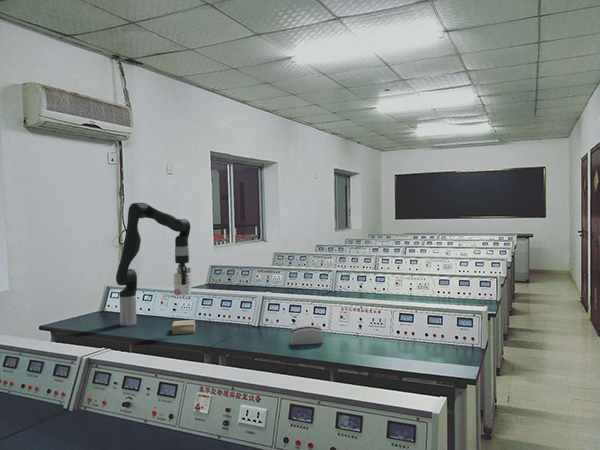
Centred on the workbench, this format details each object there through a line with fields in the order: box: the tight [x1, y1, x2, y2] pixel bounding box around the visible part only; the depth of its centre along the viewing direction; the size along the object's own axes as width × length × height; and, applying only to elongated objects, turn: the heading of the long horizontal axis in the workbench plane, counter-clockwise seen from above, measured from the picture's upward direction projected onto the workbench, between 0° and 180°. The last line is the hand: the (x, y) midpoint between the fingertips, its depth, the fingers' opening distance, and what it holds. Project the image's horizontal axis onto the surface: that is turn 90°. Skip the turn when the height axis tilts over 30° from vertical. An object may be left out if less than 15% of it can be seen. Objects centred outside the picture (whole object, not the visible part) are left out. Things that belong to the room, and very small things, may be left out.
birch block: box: [171, 319, 196, 335], centre depth 274 cm, size 12×12×5 cm
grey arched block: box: [289, 325, 324, 346], centre depth 242 cm, size 17×5×10 cm, turn 97°
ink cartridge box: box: [173, 267, 192, 296], centre depth 273 cm, size 9×5×15 cm, turn 85°
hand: (182, 283), depth 273 cm, fingers closed on ink cartridge box, 6 cm apart
